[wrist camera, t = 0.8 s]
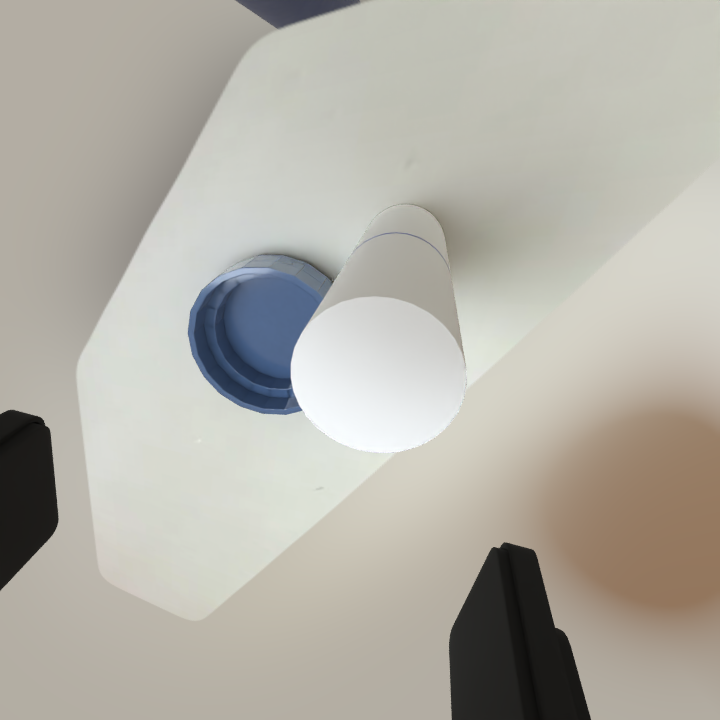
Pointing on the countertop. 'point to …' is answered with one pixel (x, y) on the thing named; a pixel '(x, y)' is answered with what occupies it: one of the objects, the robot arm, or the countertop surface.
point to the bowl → (255, 329)
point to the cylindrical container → (385, 340)
